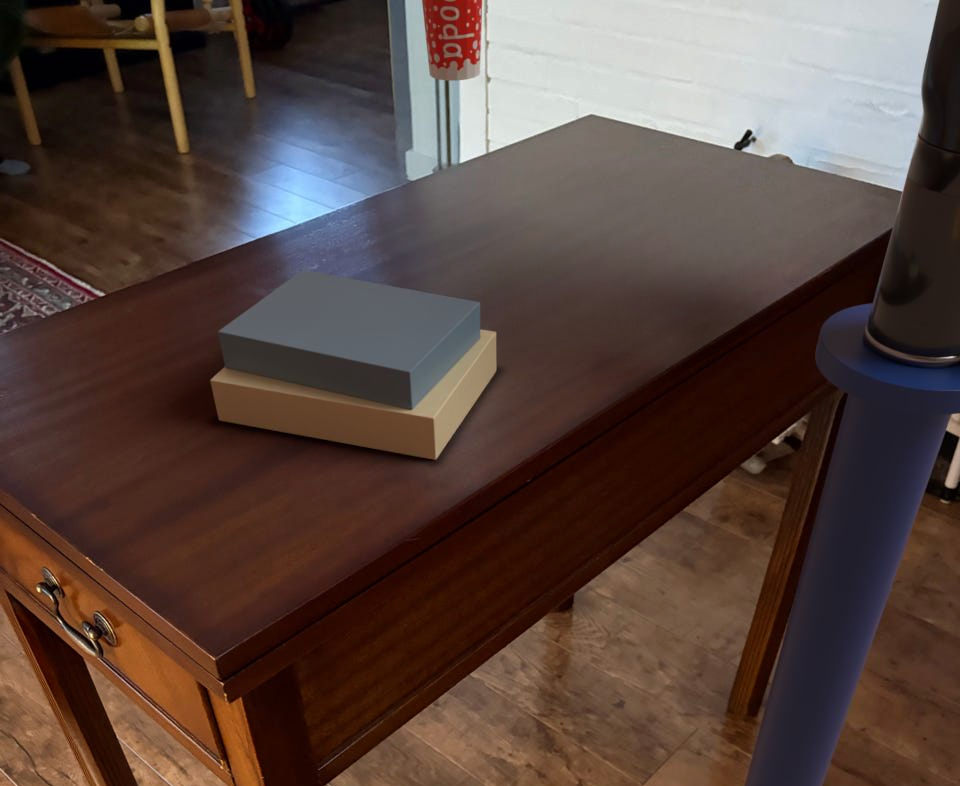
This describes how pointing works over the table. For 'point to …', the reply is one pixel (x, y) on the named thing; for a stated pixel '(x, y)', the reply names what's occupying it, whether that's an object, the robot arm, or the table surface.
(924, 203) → the robot arm
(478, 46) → the beverage cup
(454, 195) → the table surface
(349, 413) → the book stack
